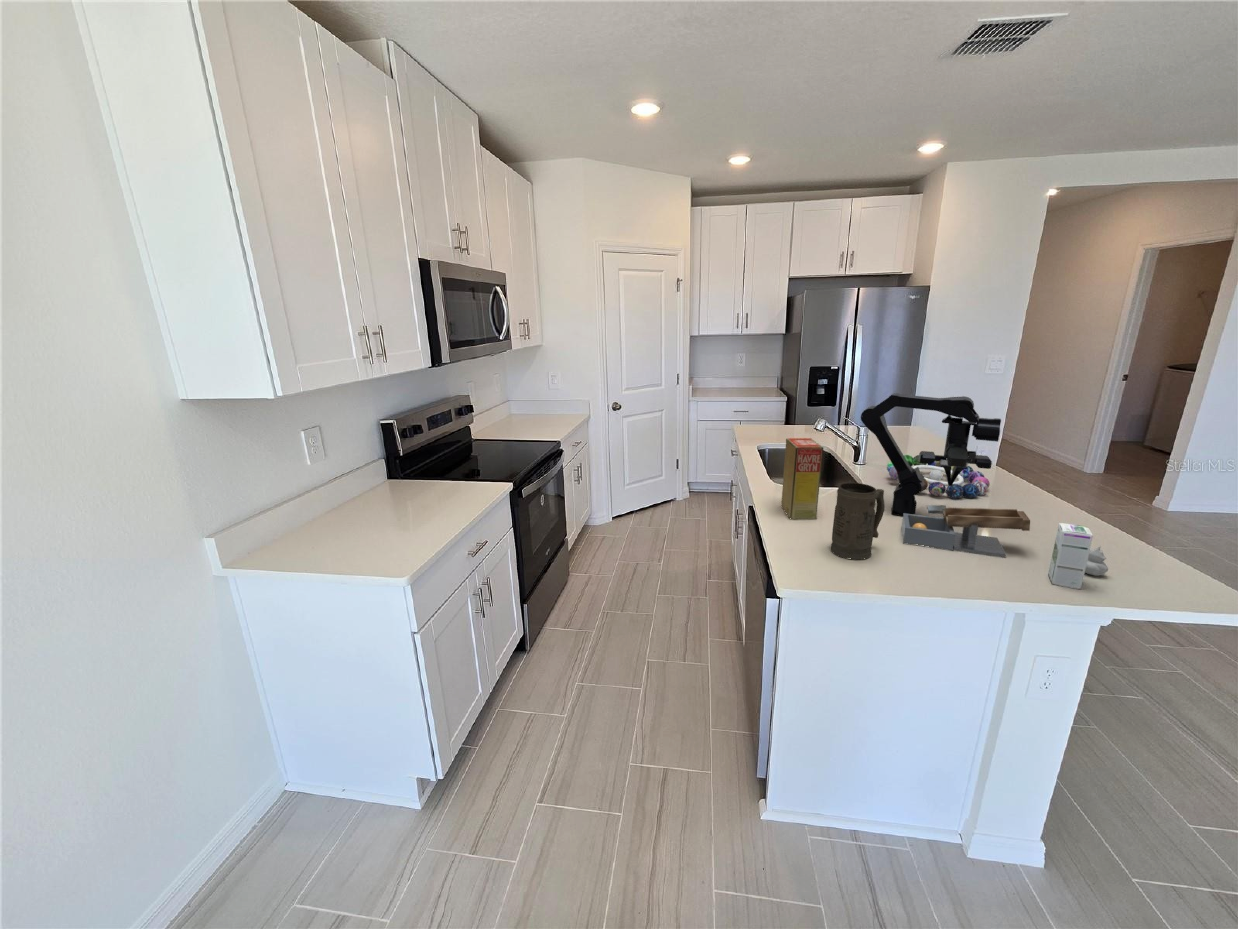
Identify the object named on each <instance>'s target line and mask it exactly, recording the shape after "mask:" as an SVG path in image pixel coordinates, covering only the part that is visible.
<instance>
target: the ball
mask: <svg viewBox="0 0 1238 929" xmlns="http://www.w3.org/2000/svg"><path fill="white" fill-rule="evenodd" d="M913 527H915V528H922V529H927V527H926V526H925V525H924V524H922V523H916V524H914V525H913Z"/></svg>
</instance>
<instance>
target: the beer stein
mask: <svg viewBox="0 0 1238 929" xmlns="http://www.w3.org/2000/svg"><path fill="white" fill-rule="evenodd" d="M884 492H885V490H884V489H883V488H882V489H881V488H880V489H879V488H875V487H874V486H872V485H868V484H866V483H865V484H864V483H860V482H859V483H858V482H843V483H841V484H838V488H837V490H836V495H837V496H836V504H835V507H834V514H833V515H834V516H833V522H832V523H833V524H832V532H831V544H830V551H831V552H832V553H833V552H834V553H835V554H834V553H833V554H834V555H836V556H838V555H839V556H838V557H840V556H841V558H843V557H844V558H843V559H846V558H851V559H850V560H853V559H862V560H865V559H864V558H867V559H869V558H870V557H871V556H872V545H873V539H875V538H876V539H877V538H879V532H878V527H879V524H880V523H881V522H882V519H883V516H884V513H885V498H884V494H885V493H884ZM875 509H876V510H875Z"/></svg>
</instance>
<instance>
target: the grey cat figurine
mask: <svg viewBox="0 0 1238 929" xmlns="http://www.w3.org/2000/svg"><path fill="white" fill-rule="evenodd" d="M1105 560H1107V557H1106V556H1105V554H1104V552H1103V550H1102V549H1101V545H1099V546H1098V547H1095V548H1094V549H1093V548H1092V549H1090V551H1089V556H1088V560H1087V565H1086V569H1085V574H1087V575H1090V576H1095V577H1097V576H1098V577H1099V576H1102V575H1105V574H1106V573H1107V572H1108V571H1109V567H1108V565H1107V564H1106V563H1105Z"/></svg>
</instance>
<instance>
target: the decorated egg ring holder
mask: <svg viewBox="0 0 1238 929" xmlns="http://www.w3.org/2000/svg"><path fill="white" fill-rule="evenodd" d="M903 455H904V457H905V459H906V460H907V462H908V464H909V465H910V466H911V467H912V468H914V469H915V468H917V467H918V468H919V470H929V471H930V470H931V471H930V473H929V474H928V476H929V478H927V477H925V476H924V479H923V480H924V485H923V487H922V489H921V492H923V491H925V490H927V489H928V492H929V494H930V495H931V496H933V497H940V496H942V495H944V494H945V493H946V496H947V497H949V498H950V499H952V500H953V499H954V500H956V499H957V500H958V499H959V498H961V497H963V498H966V499H974V498H976V497H977V496H978V497H979V496H980V497H981V496H984V495H985V494H986V493H987V492H988V489H989V488H990V480H989V479H988V478H986V477H985V475H984V473H982V472H981V471H978V470H974V469H973V468H972V466H970V465H967V467H968V469H964V470H962V471H961V472H960V473H959V475H958V476H957V478H956V479H957V480H956V481H954V482H953V484H952V486H948V482H947V481H941V480H942V479H943V476H944V474H946V473H945V470H944V468H943V467H940V465H939V461H935V462H934V463H932V464H925V463H920V462H919V454H917V455H915V456H914V457H913V456H912V455H908V454H903ZM953 467H954V466H951V475H952V471H953ZM886 470H887V472H888V475H889V476H890V478H891V479H893V480H897V482H898V484H900V482H899V478H898V474H897V471H896V469H895V467H894V466H893V464H892V462H891V461H889V462H888V463H887V464H886ZM943 473H944V474H943ZM965 480H967V481H968V483H966V484H965V483H964V482H965ZM961 485H962V486H961Z"/></svg>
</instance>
